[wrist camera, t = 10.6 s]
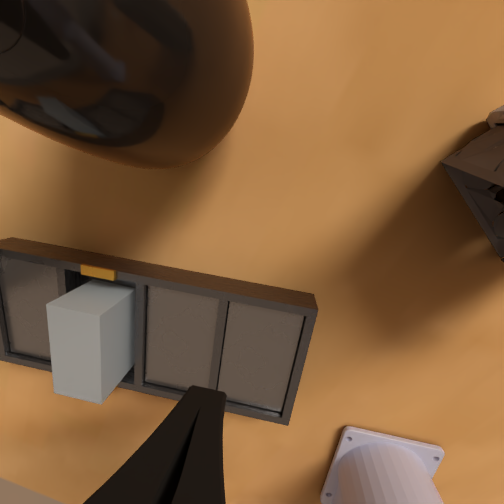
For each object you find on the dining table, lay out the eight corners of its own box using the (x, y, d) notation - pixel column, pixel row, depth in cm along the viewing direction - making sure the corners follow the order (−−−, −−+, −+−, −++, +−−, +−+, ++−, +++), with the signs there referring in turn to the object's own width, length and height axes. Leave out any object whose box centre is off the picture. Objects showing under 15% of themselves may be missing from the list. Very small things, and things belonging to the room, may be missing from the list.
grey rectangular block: (134, 363, 21) (101, 404, 17) (95, 354, 21) (54, 392, 17) (136, 288, 19) (99, 315, 15) (93, 279, 19) (46, 304, 15)
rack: (287, 400, 21) (288, 428, 19) (27, 343, 23) (-3, 362, 20) (314, 293, 18) (318, 310, 16) (12, 236, 20) (-25, 244, 17)
